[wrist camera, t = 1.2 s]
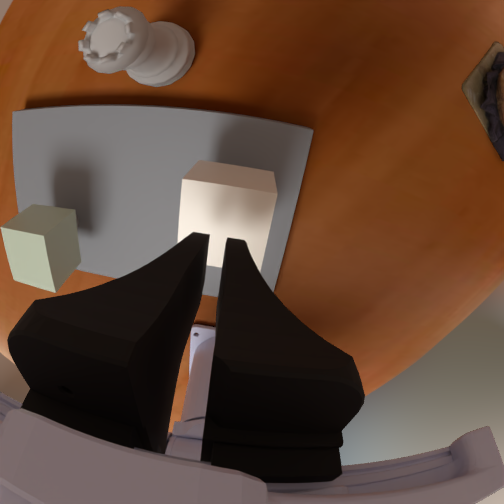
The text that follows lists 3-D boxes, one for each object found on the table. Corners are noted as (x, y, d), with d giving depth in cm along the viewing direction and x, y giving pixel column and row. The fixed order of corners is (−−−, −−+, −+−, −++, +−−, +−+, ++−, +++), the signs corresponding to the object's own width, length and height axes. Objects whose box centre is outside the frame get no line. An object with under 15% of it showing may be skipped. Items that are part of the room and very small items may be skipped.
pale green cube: (81, 261, 19) (55, 292, 15) (40, 252, 18) (14, 279, 15) (75, 209, 17) (43, 235, 13) (33, 203, 16) (0, 227, 13)
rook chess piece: (119, 57, 15) (45, 48, 8) (168, 12, 13) (116, -28, 7) (158, 100, 17) (96, 108, 10) (211, 55, 15) (178, 29, 8)
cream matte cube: (259, 237, 17) (259, 273, 14) (191, 226, 17) (176, 260, 14) (273, 171, 15) (277, 193, 12) (199, 159, 15) (182, 178, 12)
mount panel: (269, 292, 24) (270, 327, 20) (35, 249, 22) (12, 272, 19) (309, 127, 17) (322, 135, 14) (24, 109, 16) (-9, 117, 12)
